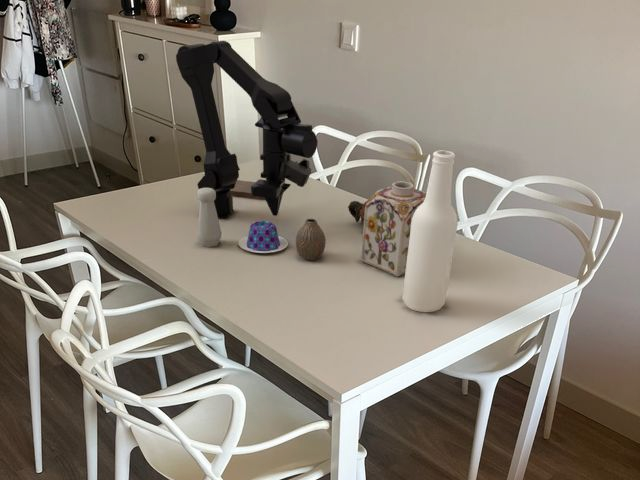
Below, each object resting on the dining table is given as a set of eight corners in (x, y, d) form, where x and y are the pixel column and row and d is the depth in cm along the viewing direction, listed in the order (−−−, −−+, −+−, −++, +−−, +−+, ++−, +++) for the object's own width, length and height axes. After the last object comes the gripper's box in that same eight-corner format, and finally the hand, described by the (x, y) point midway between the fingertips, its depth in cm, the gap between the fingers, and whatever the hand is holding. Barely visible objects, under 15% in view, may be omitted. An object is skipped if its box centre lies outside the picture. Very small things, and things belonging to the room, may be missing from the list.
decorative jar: (392, 249, 161) (400, 173, 150) (429, 264, 154) (441, 185, 143) (358, 261, 154) (364, 183, 143) (396, 278, 147) (406, 196, 137)
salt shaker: (224, 240, 162) (221, 186, 154) (219, 249, 157) (216, 193, 149) (201, 238, 162) (196, 184, 154) (195, 247, 157) (190, 192, 150)
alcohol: (415, 316, 133) (436, 161, 115) (394, 297, 139) (411, 148, 121) (452, 309, 136) (478, 157, 118) (430, 291, 142) (451, 145, 124)
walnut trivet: (224, 195, 188) (224, 189, 188) (236, 184, 196) (236, 179, 195) (264, 200, 186) (264, 194, 185) (274, 189, 194) (274, 184, 193)
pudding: (268, 259, 153) (268, 237, 150) (228, 247, 158) (226, 226, 155) (297, 244, 161) (298, 223, 158) (258, 233, 166) (257, 212, 163)
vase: (314, 265, 151) (315, 228, 146) (289, 258, 154) (290, 221, 149) (330, 255, 156) (332, 219, 151) (305, 249, 159) (306, 212, 154)
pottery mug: (392, 224, 176) (399, 202, 168) (380, 250, 172) (386, 229, 164) (351, 206, 176) (356, 184, 169) (337, 232, 173) (342, 210, 165)
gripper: (297, 163, 147) (296, 232, 156) (318, 143, 161) (316, 207, 171) (249, 158, 149) (251, 226, 158) (274, 138, 163) (274, 202, 173)
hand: (275, 215), depth 165 cm, fingers closed
